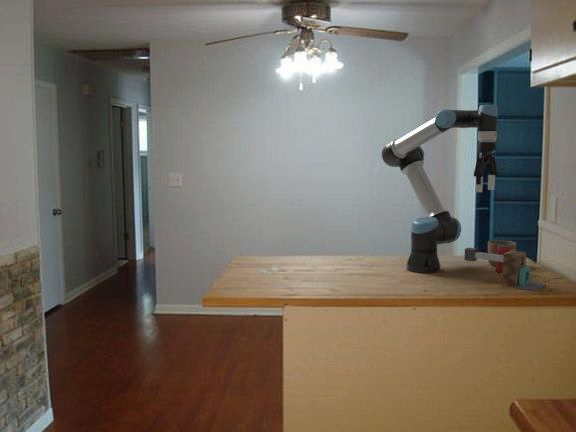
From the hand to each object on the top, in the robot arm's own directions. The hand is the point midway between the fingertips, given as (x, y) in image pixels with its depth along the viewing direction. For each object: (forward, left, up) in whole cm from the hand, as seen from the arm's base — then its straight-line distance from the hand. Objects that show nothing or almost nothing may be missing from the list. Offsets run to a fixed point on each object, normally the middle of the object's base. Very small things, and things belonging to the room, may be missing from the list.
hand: (485, 191), depth 255 cm
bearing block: (+17, -9, -37) cm, 41 cm away
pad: (+24, -9, -37) cm, 45 cm away
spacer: (+21, -9, -36) cm, 43 cm away
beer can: (+6, +10, -37) cm, 39 cm away
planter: (0, +23, -37) cm, 44 cm away
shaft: (+8, -9, -29) cm, 32 cm away
